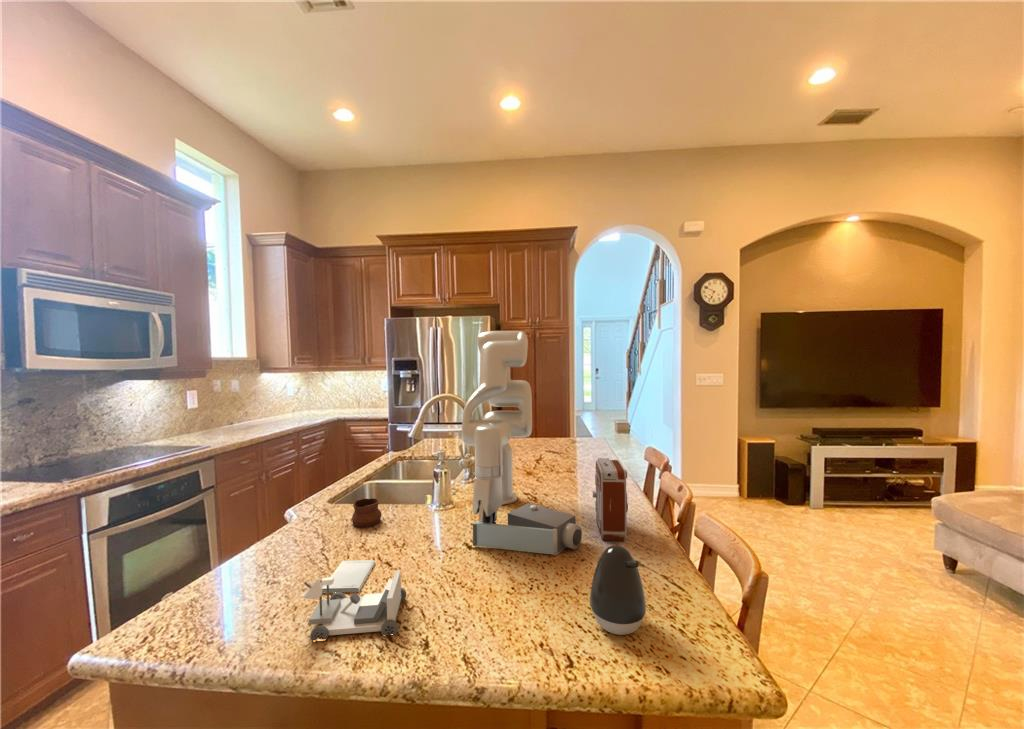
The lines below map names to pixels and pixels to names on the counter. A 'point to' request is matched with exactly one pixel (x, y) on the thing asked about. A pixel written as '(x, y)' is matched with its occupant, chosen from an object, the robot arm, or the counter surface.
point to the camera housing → (548, 523)
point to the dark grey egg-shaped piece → (617, 592)
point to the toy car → (355, 609)
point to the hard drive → (350, 576)
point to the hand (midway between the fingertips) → (489, 536)
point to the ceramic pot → (366, 513)
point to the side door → (515, 538)
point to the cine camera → (611, 499)
